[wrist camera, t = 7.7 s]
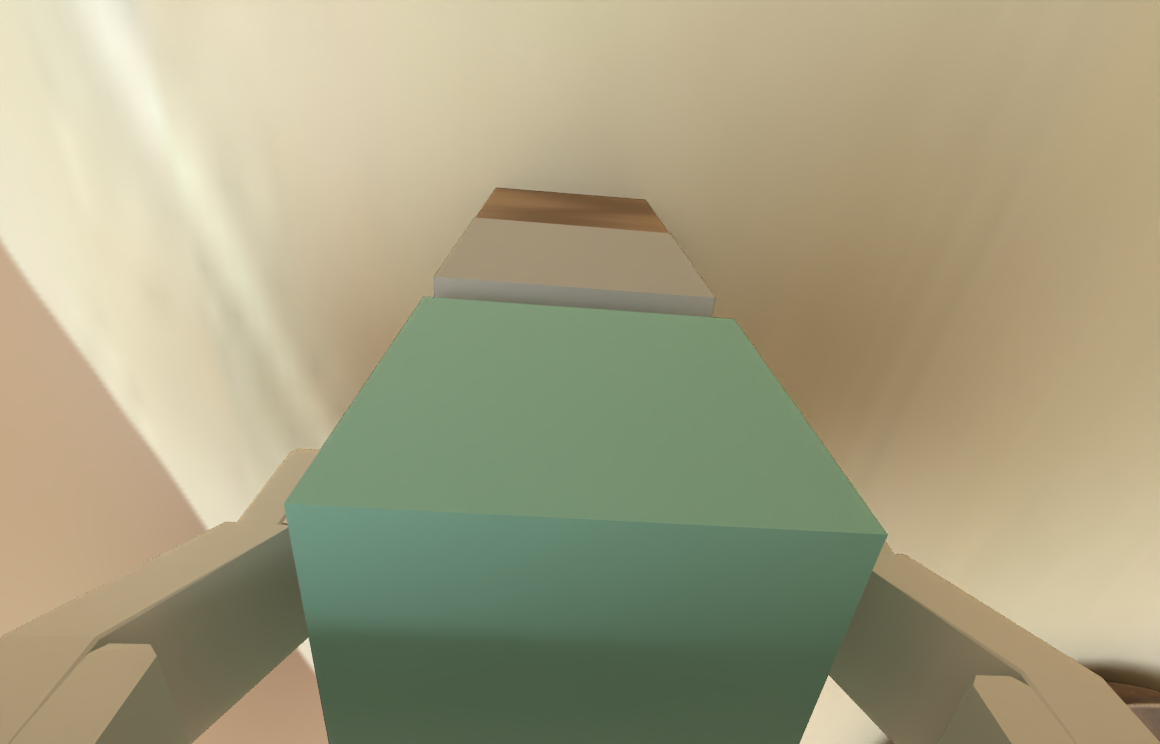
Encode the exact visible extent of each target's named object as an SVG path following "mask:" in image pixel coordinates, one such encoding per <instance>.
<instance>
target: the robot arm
mask: <svg viewBox="0 0 1160 744" xmlns="http://www.w3.org/2000/svg"><path fill="white" fill-rule="evenodd" d="M319 451H320V450H311V449H297V450H295V451H292V452H291V453H290V454H289V455H288V456H287V457H286V459H285V460H284V461H283V463H282V464H281V465H280V466H279V468H278V469H277V470H276V472H275V473H274V474H273V476H272V477H271V478H270V480H269V481H268V482H267V484H266V485H265V486H264V487H263V489H262V490H261V491H260V493H259V494H258V495H257V497H256V498H255V499H254V501H253V502H252V503H251V505H250V506H249V507H248V508H247V510H246V511H245V512H244V514H243V515H242V516H241V518H240V519H239V520H238V522H224V523H222V524H220V525H218V526H216V527H214V528H212V529H210V530H208V531H206V532H204V533H203V534H201V535H199V536H197V537H195V538H193V539H191V540H189V541H187V542H185V543H183V544H181V545H179V546H177V547H175V548H173V549H171V550H169V551H167V552H165V553H163V554H162V555H159V556H157V557H155V558H154V559H152V560H150V561H148V562H146V563H144V564H142V565H140V566H138V567H136V568H134V569H132V570H130V571H128V572H126V573H124V574H122V575H120V576H118V577H116V578H114V579H112V580H110V581H108V582H106V583H105V584H103V585H101V586H99V587H97V588H95V589H93V590H91V591H89V592H87V593H85V594H83V595H81V596H79V597H77V598H75V599H73V600H71V601H69V602H67V603H66V604H63V605H61V606H60V607H58V608H56V609H54V610H52V611H50V612H48V613H46V614H44V615H42V616H40V617H38V618H36V619H34V620H32V621H30V622H28V623H26V624H24V625H22V626H20V627H18V628H16V629H14V630H12V631H10V632H9V633H7V634H5V635H3V636H2V637H1V638H0V744H191V743H193V742H194V741H195V740H196V739H197V738H198V737H199V736H200V735H201V734H202V733H203V732H205V731H206V730H207V729H208V728H209V727H210V726H211V725H212V724H213V723H215V722H216V721H217V720H218V719H219V718H220V717H221V716H222V715H223V714H224V713H225V712H226V711H228V710H229V709H230V708H231V707H232V706H233V705H234V704H235V703H237V702H238V701H239V700H240V699H241V698H242V697H243V696H244V695H245V694H246V693H247V692H249V691H250V690H251V689H252V688H253V687H254V686H255V685H256V684H257V683H258V682H260V681H261V680H262V679H263V678H264V677H265V676H266V675H267V674H268V673H270V671H272V670H273V669H274V668H275V667H276V666H277V665H278V664H279V663H281V662H282V661H283V660H284V659H285V658H286V657H287V656H288V655H289V654H290V653H291V652H293V651H294V650H295V649H296V648H297V647H298V646H299V645H300V644H301V643H303V642H304V641H305V640H306V639H307V638H308V637H309V636H308V630H307V625H306V620H305V614H304V609H303V604H302V598H301V593H300V588H299V582H298V577H297V572H296V567H295V561H294V556H293V551H292V545H291V540H290V535H289V529H288V524H287V519H286V513H285V508H284V503H285V501H286V500H287V498H288V497H289V495H290V494H291V492H292V491H293V489H294V488H295V486H296V485H297V483H298V482H299V480H300V479H301V477H302V476H303V475H304V473H305V472H306V470H307V469H308V467H309V466H310V464H311V463H312V461H313V460H314V458H315V457H316V455H317V454H318V452H319ZM828 675H829V676H830V677H831V678H832V679H833V680H834V681H835V682H836V683H837V684H838V685H839V686H840V687H841V688H842V689H843V690H844V691H845V692H846V693H847V694H848V696H849V697H850V698H851V699H852V700H853V701H854V702H855V703H856V704H857V705H858V706H859V707H860V708H861V709H862V710H863V711H864V712H865V713H866V714H867V715H868V717H869V718H870V719H871V720H872V721H873V722H874V723H875V724H876V725H877V726H878V727H879V728H880V729H881V730H882V731H883V732H884V733H885V734H886V735H887V737H888V738H889V739H890V740H891V741H892V742H893V743H894V744H1160V742H1159V740H1158V739H1157V738H1156V737H1155V736H1154V735H1153V734H1152V733H1151V732H1150V730H1149V729H1148V728H1147V727H1146V726H1145V725H1144V724H1143V723H1142V722H1141V720H1140V719H1139V718H1138V717H1137V716H1136V715H1135V714H1134V713H1133V712H1132V710H1131V709H1130V708H1129V707H1128V706H1127V705H1126V704H1125V703H1124V702H1123V700H1122V699H1121V698H1120V697H1119V696H1118V695H1117V694H1116V693H1115V692H1114V690H1113V689H1112V688H1111V687H1110V686H1109V685H1108V684H1107V683H1106V682H1105V680H1104V679H1103V678H1102V677H1100V676H1099V675H1097V674H1096V673H1094V672H1092V671H1091V670H1089V669H1088V668H1086V667H1084V666H1083V665H1081V664H1080V663H1078V662H1076V661H1075V660H1073V659H1072V658H1070V657H1068V656H1067V655H1065V654H1064V653H1062V652H1060V651H1059V650H1057V649H1056V648H1054V647H1052V646H1051V645H1049V644H1047V643H1046V642H1044V641H1043V640H1041V639H1039V638H1038V637H1036V636H1035V635H1033V634H1031V633H1030V632H1028V631H1027V630H1025V629H1023V628H1022V627H1020V626H1019V625H1017V624H1015V623H1014V622H1012V621H1011V620H1009V619H1007V618H1006V617H1004V616H1003V615H1001V614H999V613H998V612H996V611H995V610H993V609H991V608H990V607H988V606H987V605H985V604H983V603H982V602H980V601H979V600H977V599H975V598H974V597H972V596H971V595H969V594H967V593H966V592H964V591H963V590H961V589H959V588H958V587H956V586H955V585H953V584H951V583H950V582H948V581H947V580H945V579H943V578H942V577H940V576H939V575H937V574H935V573H934V572H932V571H931V570H929V569H927V568H926V567H924V566H923V565H921V564H919V563H918V562H916V561H915V560H913V559H911V558H910V557H908V556H907V555H902V554H894V552H893V551H892V550H891V548H890V547H889V545H888V544H887V542H886V541H885V542H884V544H883V547H882V549H881V552H880V554H879V556H878V559H877V561H876V563H875V566H874V568H873V570H872V573H871V575H870V578H869V580H868V582H867V585H866V587H865V589H864V592H863V594H862V596H861V599H860V601H859V604H858V606H857V608H856V611H855V613H854V615H853V618H852V620H851V622H850V625H849V627H848V629H847V632H846V634H845V637H844V639H843V641H842V644H841V646H840V648H839V651H838V653H837V655H836V658H835V660H834V663H833V665H832V667H831V670H830V672H829V674H828Z"/></svg>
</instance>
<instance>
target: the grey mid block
mask: <svg viewBox="0 0 1160 744" xmlns="http://www.w3.org/2000/svg"><path fill="white" fill-rule="evenodd" d="M434 297H436V298H450V299H464V300H478V301H492V302H505V303H519V304H533V305H547V306H561V307H575V308H589V309H603V310H617V311H631V312H645V313H659V314H673V315H687V316H701V317H712V313H713V308H714V303H715V296H714V295H713V293H712V292H711V291H710V289H709V288H708V286H707V285H706V283H705V282H704V281H703V279H702V278H701V276H700V275H699V274H698V272H697V271H696V269H695V268H694V266H693V265H692V264H691V262H690V261H689V259H688V258H687V257H686V255H685V254H684V252H683V251H682V249H681V248H680V247H679V245H678V244H677V242H676V241H675V240H674V238H673V237H672V235H671V234H670V233H660V232H648V231H635V230H623V229H611V228H599V227H586V226H574V225H562V224H550V223H537V222H525V221H513V220H500V219H488V218H476V217H475V218H474V219H473V221H472V222H471V223H470V225H469V226H468V228H467V229H466V231H465V232H464V234H463V235H462V236H461V238H460V239H459V241H458V242H457V244H456V245H455V247H454V248H453V250H452V251H451V252H450V254H449V255H448V257H447V258H446V260H445V261H444V263H443V264H442V265H441V267H440V268H439V270H438V271H437V273H436V274H435V276H434Z"/></svg>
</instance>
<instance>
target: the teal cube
mask: <svg viewBox="0 0 1160 744" xmlns="http://www.w3.org/2000/svg"><path fill="white" fill-rule="evenodd" d="M284 508H285V513H286V519H287V524H288V529H289V535H290V540H291V545H292V551H293V556H294V561H295V567H296V572H297V577H298V582H299V588H300V593H301V598H302V604H303V609H304V614H305V620H306V625H307V630H308V636H309V641H310V646H311V651H312V657H313V662H314V667H315V673H316V678H317V683H318V688H319V694H320V699H321V704H322V710H323V715H324V720H325V725H326V731H327V736H328V742H329V744H799V743H800V741H801V738H802V736H803V733H804V731H805V729H806V726H807V724H808V722H809V719H810V717H811V715H812V712H813V710H814V707H815V705H816V703H817V700H818V698H819V696H820V693H821V691H822V689H823V686H824V684H825V681H826V679H827V677H828V674H829V672H830V670H831V667H832V665H833V663H834V660H835V658H836V655H837V653H838V651H839V648H840V646H841V644H842V641H843V639H844V637H845V634H846V632H847V629H848V627H849V625H850V622H851V620H852V618H853V615H854V613H855V611H856V608H857V606H858V604H859V601H860V599H861V596H862V594H863V592H864V589H865V587H866V585H867V582H868V580H869V578H870V575H871V573H872V570H873V568H874V566H875V563H876V561H877V559H878V556H879V554H880V552H881V549H882V547H883V544H884V542H885V540H886V537H887V535H888V534H887V533H886V532H885V530H884V529H883V527H882V526H881V525H880V523H879V522H878V520H877V519H876V518H875V516H874V515H873V513H872V512H871V511H870V509H869V508H868V506H867V505H866V504H865V502H864V501H863V499H862V498H861V497H860V495H859V494H858V492H857V491H856V490H855V488H854V487H853V485H852V484H851V483H850V481H849V480H848V478H847V477H846V476H845V474H844V473H843V471H842V470H841V468H840V467H839V466H838V464H837V463H836V461H835V460H834V459H833V457H832V456H831V454H830V453H829V452H828V450H827V449H826V447H825V446H824V445H823V443H822V442H821V440H820V439H819V438H818V436H817V435H816V433H815V432H814V431H813V429H812V428H811V426H810V425H809V424H808V422H807V421H806V419H805V418H804V417H803V415H802V414H801V412H800V411H799V410H798V408H797V407H796V405H795V404H794V402H793V401H792V400H791V398H790V397H789V395H788V394H787V393H786V391H785V390H784V388H783V387H782V386H781V384H780V383H779V381H778V380H777V379H776V377H775V376H774V374H773V373H772V372H771V370H770V369H769V367H768V366H767V365H766V363H765V362H764V360H763V359H762V358H761V356H760V355H759V353H758V352H757V351H756V349H755V348H754V346H753V345H752V343H751V342H750V341H749V339H748V338H747V336H746V335H745V334H744V332H743V331H742V329H741V328H740V327H739V325H738V324H737V322H736V321H735V320H734V319H729V318H715V317H701V316H687V315H673V314H659V313H645V312H631V311H617V310H603V309H589V308H575V307H561V306H547V305H533V304H519V303H505V302H492V301H478V300H464V299H450V298H436V297H423V298H422V300H421V301H420V303H419V304H418V306H417V307H416V309H415V310H414V312H413V313H412V315H411V316H410V318H409V319H408V321H407V322H406V324H405V325H404V327H403V328H402V329H401V331H400V332H399V334H398V335H397V337H396V338H395V340H394V341H393V343H392V344H391V346H390V347H389V349H388V350H387V352H386V353H385V355H384V356H383V358H382V359H381V361H380V362H379V364H378V365H377V366H376V368H375V369H374V371H373V372H372V374H371V375H370V377H369V378H368V380H367V381H366V383H365V384H364V386H363V387H362V389H361V390H360V392H359V393H358V395H357V396H356V398H355V399H354V401H353V402H352V403H351V405H350V406H349V408H348V409H347V411H346V412H345V414H344V415H343V417H342V418H341V420H340V421H339V423H338V424H337V426H336V427H335V429H334V430H333V432H332V433H331V435H330V436H329V438H328V439H327V440H326V442H325V443H324V445H323V446H322V448H321V449H320V451H319V452H318V454H317V455H316V457H315V458H314V460H313V461H312V463H311V464H310V466H309V467H308V469H307V470H306V472H305V473H304V475H303V476H302V477H301V479H300V480H299V482H298V483H297V485H296V486H295V488H294V489H293V491H292V492H291V494H290V495H289V497H288V498H287V500H286V501H285V503H284Z"/></svg>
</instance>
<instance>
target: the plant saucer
mask: <svg viewBox="0 0 1160 744" xmlns="http://www.w3.org/2000/svg"><path fill="white" fill-rule="evenodd" d="M1106 683H1107V684H1108V685H1109V686H1110V687H1111V688H1112V689H1113V690H1114V692H1115V693H1116V694H1117V695H1118V696H1119V697H1120V698H1121V699H1122V700H1123V702H1124V703H1125V704H1126V705H1127V706H1128V707H1129V708H1130V709H1131V710H1132V712H1133V713H1134V714H1135V715H1136V716H1137V717H1138V718H1139V719H1140V720H1141V722H1142V723H1143V724H1144V725H1145V726H1146V727H1147V728H1148V729H1149V730H1150V732H1151V733H1152V734H1153V735H1154V736H1155V737H1156V738H1157V739H1158V740H1159V742H1160V691H1157V690H1153V689H1148V688H1143V687H1138V686H1133V685H1128V684H1121V683H1114V682H1106Z"/></svg>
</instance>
